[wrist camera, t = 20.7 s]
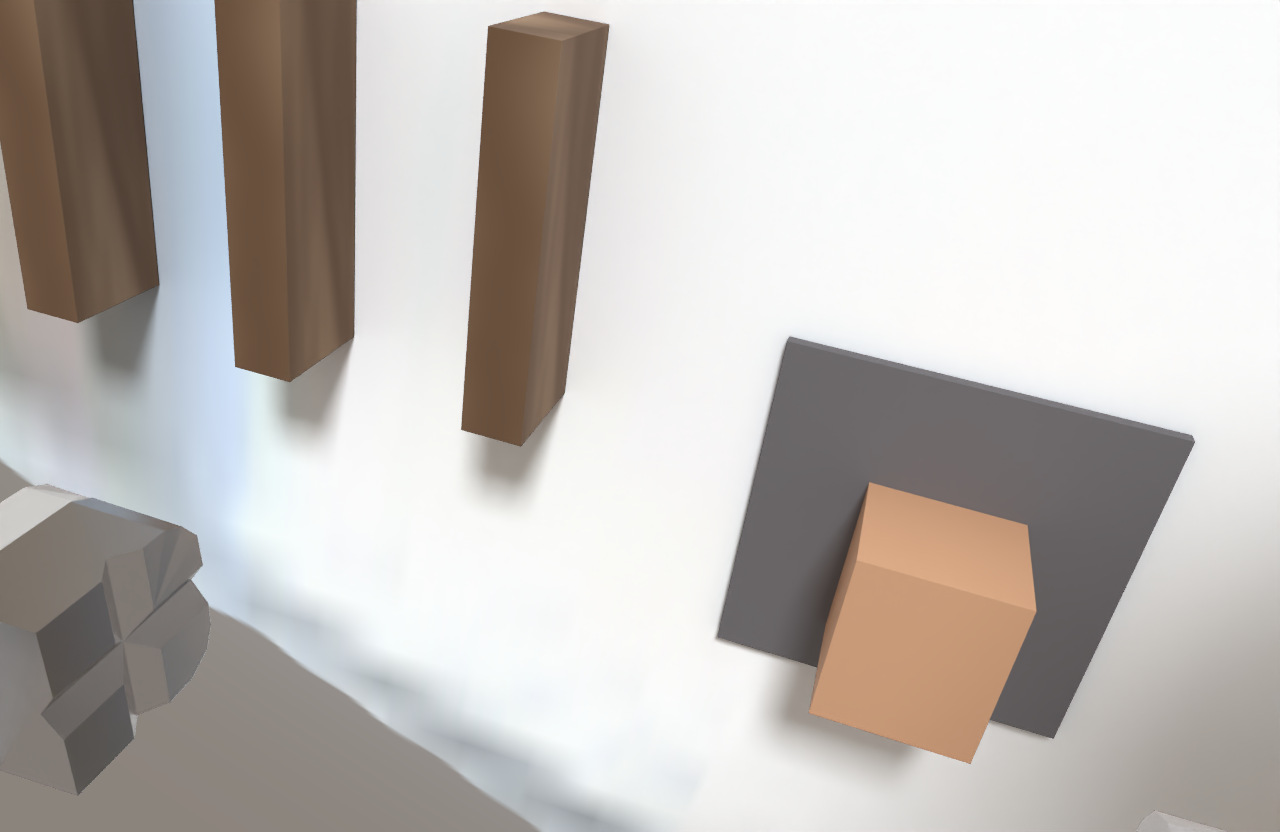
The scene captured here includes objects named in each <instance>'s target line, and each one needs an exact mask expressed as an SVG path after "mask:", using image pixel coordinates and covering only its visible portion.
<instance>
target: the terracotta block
mask: <svg viewBox="0 0 1280 832" xmlns="http://www.w3.org/2000/svg"><path fill="white" fill-rule="evenodd" d="M1036 612H1037V611H1036V602H1035V592H1034V583H1033V573H1032V563H1031V554H1030V544H1029V535H1028V525H1025V524H1021V523H1018V522H1014V521H1010V520H1006V519H1003V518H999V517H995V516H992V515H988V514H984V513H981V512H977V511H973V510H970V509H966V508H962V507H959V506H955V505H951V504H947V503H944V502H940V501H936V500H933V499H929V498H925V497H922V496H918V495H914V494H911V493H907V492H903V491H900V490H896V489H892V488H888V487H885V486H881V485H877V484H874V483H870V482H869V485H868V488H867V491H866V495H865V498H864V501H863V504H862V508H861V511H860V514H859V517H858V521H857V524H856V527H855V530H854V534H853V537H852V540H851V543H850V547H849V550H848V553H847V557H846V560H845V563H844V566H843V570H842V573H841V576H840V579H839V583H838V586H837V589H836V592H835V596H834V599H833V602H832V605H831V609H830V612H829V615H828V618H827V622H826V625H825V630H824V636H823V641H822V646H821V651H820V657H819V662H818V667H817V672H816V678H815V683H814V688H813V693H812V699H811V704H810V709H809V713H810V714H813V715H816V716H819V717H823V718H826V719H829V720H832V721H835V722H839V723H842V724H845V725H848V726H851V727H854V728H858V729H861V730H864V731H867V732H870V733H874V734H877V735H880V736H883V737H886V738H889V739H893V740H896V741H899V742H902V743H905V744H909V745H912V746H915V747H918V748H921V749H924V750H928V751H931V752H934V753H937V754H940V755H944V756H947V757H950V758H953V759H956V760H959V761H963V762H966V763H969V764H970V763H971V761H972V759H973V756H974V754H975V752H976V750H977V747H978V745H979V743H980V740H981V738H982V736H983V733H984V731H985V729H986V727H987V724H988V722H989V720H990V717H991V715H992V713H993V710H994V708H995V706H996V704H997V701H998V699H999V697H1000V694H1001V692H1002V690H1003V687H1004V685H1005V683H1006V681H1007V678H1008V676H1009V674H1010V671H1011V669H1012V667H1013V664H1014V662H1015V660H1016V658H1017V655H1018V653H1019V651H1020V648H1021V646H1022V644H1023V641H1024V639H1025V637H1026V635H1027V632H1028V630H1029V628H1030V625H1031V623H1032V621H1033V618H1034V616H1035V614H1036Z"/></svg>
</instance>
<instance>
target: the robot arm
mask: <svg viewBox="0 0 1280 832" xmlns="http://www.w3.org/2000/svg"><path fill="white" fill-rule="evenodd" d="M202 566H203V563H202V558H201V553H200V548H199V543H198V538H197V535H195V534H194V533H192V532H190V531H189V530H187V529H185V528H183V527H182V526H178V525H175V524H172V523H169V522H166V521H163V520H160V519H157V518H154V517H151V516H147V515H144V514H141V513H138V512H135V511H132V510H129V509H126V508H123V507H120V506H116V505H113V504H110V503H107V502H104V501H101V500H98V499H95V498H88V497H85V496H82V495H78V494H75V493H72V492H69V491H66V490H63V489H60V488H57V487H54V486H51V485H48V484H45V485H38V486H31V487H25V488H23V489H21V490H20V491H18V492H17V493H15V494H14V495H12V496H10V497H9V498H7V499H6V500H4V501H3V502H1V503H0V771H3V772H6V773H9V774H12V775H16V776H19V777H22V778H25V779H28V780H31V781H34V782H37V783H40V784H43V785H46V786H50V787H52V788H55V789H58V790H62V791H64V792H68V793H71V794H74V795H77V796H78V795H79V794H80V793H81V792H82V791H83V790H84V789H85V788H86V787H87V786H88V785H89V784H90V783H91V782H92V781H93V780H94V779H95V778H96V777H97V776H98V775H99V774H100V773H101V772H102V771H103V770H104V769H105V768H106V767H107V766H108V765H109V764H110V763H111V762H112V761H113V760H114V759H115V757H117V756H118V754H119V753H121V752H122V750H123V749H124V748H125V747H126V746H127V745H128V744H129V743H130V742H131V741H132V740H133V739H134V737H135V729H136V721H137V715H139V714H141V713H144V712H147V711H149V710H152V709H154V708H157V707H159V706H162V705H164V704H167V703H169V702H170V701H171V700H172V699H173V698H174V697H175V696H176V695H177V694H178V693H179V692H180V691H181V690H182V689H183V688H184V687H185V685H186V684H187V683H188V682H189V681H190V680H191V679H192V677H193V675H194V673H195V671H196V670H197V668H198V666H199V664H200V661H201V660H202V658H203V656H204V654H205V652H206V650H207V646H208V640H209V634H210V627H211V622H210V614H209V605H208V602H207V601H206V600H205V598H204V597H203V595H202V594H201V593H200V591H199V590H198V589H197V587H196V586H195V584H194V583H193V582H192V580H191V579H192V578H193V577H194V575H195V574H196V573H197V572H198V570H199V569H200V568H201V567H202ZM1136 832H1229V831H1225V830H1222V829H1218V828H1215V827H1211V826H1208V825H1204V824H1201V823H1197V822H1194V821H1190V820H1186V819H1183V818H1179V817H1176V816H1172V815H1169V814H1165V813H1162V812H1158V811H1155V810H1154V811H1153V812H1152V813H1151V814H1149V815H1148V816H1147V817H1146V818H1144V819H1143V820H1142V821H1141V823H1140V825H1139V826H1138V828H1137V830H1136Z"/></svg>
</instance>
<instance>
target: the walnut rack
mask: <svg viewBox="0 0 1280 832" xmlns="http://www.w3.org/2000/svg"><path fill="white" fill-rule="evenodd" d="M215 18H216V35H217V53H218V71H219V88H220V106H221V124H222V141H223V159H224V177H225V194H226V212H227V230H228V247H229V265H230V282H231V300H232V318H233V335H234V353H235V367H238V368H241V369H245V370H248V371H252V372H256V373H259V374H263V375H266V376H270V377H274V378H277V379H281V380H284V381H288V382H291V381H292V380H294V379H295V378H296V377H298V376H299V375H301V374H302V373H303V372H305V371H306V370H308V369H309V368H310V367H312V366H313V365H315V364H316V363H317V362H319V361H320V360H322V359H323V358H325V357H326V356H327V355H329V354H330V353H332V352H333V351H334V350H336V349H337V348H339V347H340V346H341V345H343V344H344V343H346V342H347V341H348V340H350V339H351V338H353V337H354V256H355V110H356V0H215ZM608 32H609V24H604V23H598V22H593V21H588V20H583V19H578V18H573V17H568V16H563V15H558V14H553V13H548V12H541V13H537V14H533V15H529V16H525V17H521V18H518V19H514V20H510V21H506V22H502V23H498V24H494V25H490V26H488V37H487V52H486V67H485V82H484V97H483V112H482V127H481V142H480V157H479V172H478V187H477V202H476V217H475V231H474V246H473V261H472V276H471V291H470V306H469V321H468V336H467V351H466V366H465V381H464V396H463V411H462V426H461V430H464V431H467V432H471V433H475V434H478V435H482V436H485V437H489V438H493V439H496V440H500V441H503V442H507V443H511V444H514V445H518V446H522V444H523V443H524V442H525V441H526V440H527V438H528V437H529V436H530V435H531V433H532V432H533V431H534V430H535V428H536V427H537V426H538V425H539V424H540V422H541V421H542V420H543V419H544V417H545V416H546V415H547V414H548V413H549V411H550V410H551V409H552V408H553V406H554V405H555V404H556V403H557V401H558V400H559V399H560V398H561V397H562V395H563V394H564V393H565V385H566V377H567V369H568V361H569V353H570V344H571V336H572V328H573V320H574V311H575V303H576V295H577V287H578V279H579V270H580V262H581V254H582V246H583V237H584V229H585V221H586V213H587V205H588V196H589V188H590V180H591V172H592V163H593V155H594V147H595V139H596V131H597V122H598V114H599V106H600V98H601V89H602V81H603V73H604V65H605V57H606V48H607V40H608ZM0 142H1V149H2V155H3V161H4V167H5V173H6V179H7V185H8V192H9V198H10V204H11V210H12V216H13V222H14V228H15V235H16V241H17V247H18V253H19V259H20V265H21V271H22V277H23V284H24V290H25V296H26V302H27V308H28V309H29V310H33V311H37V312H40V313H44V314H47V315H51V316H55V317H58V318H62V319H65V320H69V321H73V322H76V323H79V322H81V321H83V320H85V319H87V318H90V317H92V316H94V315H96V314H98V313H100V312H102V311H104V310H106V309H109V308H111V307H113V306H115V305H117V304H119V303H121V302H123V301H125V300H128V299H130V298H132V297H134V296H136V295H138V294H140V293H142V292H144V291H147V290H149V289H151V288H153V287H155V286H157V285H159V280H158V269H157V258H156V248H155V237H154V226H153V215H152V205H151V194H150V183H149V173H148V162H147V151H146V141H145V130H144V119H143V108H142V98H141V87H140V76H139V66H138V55H137V44H136V34H135V23H134V12H133V1H132V0H0Z"/></svg>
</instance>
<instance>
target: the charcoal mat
mask: <svg viewBox="0 0 1280 832" xmlns="http://www.w3.org/2000/svg"><path fill="white" fill-rule="evenodd" d="M1194 443H1195V441H1194V438H1193V436H1192V435H1188V434H1184V433H1180V432H1175V431H1171V430H1167V429H1163V428H1159V427H1155V426H1151V425H1147V424H1143V423H1139V422H1135V421H1131V420H1127V419H1123V418H1119V417H1115V416H1110V415H1106V414H1102V413H1098V412H1094V411H1090V410H1086V409H1082V408H1078V407H1074V406H1070V405H1066V404H1062V403H1058V402H1054V401H1049V400H1045V399H1041V398H1037V397H1033V396H1029V395H1025V394H1021V393H1017V392H1013V391H1009V390H1005V389H1001V388H997V387H993V386H988V385H984V384H980V383H976V382H972V381H968V380H964V379H960V378H956V377H952V376H948V375H944V374H940V373H936V372H932V371H928V370H923V369H919V368H915V367H911V366H907V365H903V364H899V363H895V362H891V361H887V360H883V359H879V358H875V357H871V356H867V355H862V354H858V353H854V352H850V351H846V350H842V349H838V348H834V347H830V346H826V345H822V344H818V343H814V342H810V341H806V340H801V339H797V338H793V337H789V338H788V341H787V345H786V349H785V353H784V357H783V361H782V366H781V370H780V374H779V378H778V383H777V387H776V391H775V395H774V400H773V404H772V408H771V412H770V417H769V421H768V425H767V429H766V433H765V438H764V442H763V446H762V450H761V455H760V459H759V463H758V467H757V472H756V476H755V480H754V484H753V489H752V493H751V497H750V501H749V506H748V510H747V514H746V518H745V522H744V527H743V531H742V535H741V539H740V544H739V548H738V552H737V556H736V561H735V565H734V569H733V573H732V578H731V582H730V586H729V590H728V594H727V599H726V603H725V607H724V611H723V616H722V620H721V624H720V628H719V633H718V637H719V638H723V639H726V640H729V641H732V642H736V643H739V644H742V645H746V646H749V647H752V648H756V649H759V650H762V651H765V652H769V653H772V654H775V655H779V656H782V657H785V658H789V659H792V660H795V661H798V662H802V663H805V664H808V665H812V666H815V667H818V662H819V657H820V651H821V646H822V641H823V636H824V630H825V625H826V622H827V618H828V615H829V612H830V609H831V605H832V602H833V599H834V596H835V592H836V589H837V586H838V583H839V579H840V576H841V573H842V570H843V566H844V563H845V560H846V557H847V553H848V550H849V547H850V543H851V540H852V537H853V534H854V530H855V527H856V524H857V521H858V517H859V514H860V511H861V508H862V504H863V501H864V498H865V495H866V491H867V488H868V485H869V482H870V483H874V484H877V485H881V486H885V487H888V488H892V489H896V490H900V491H903V492H907V493H911V494H914V495H918V496H922V497H925V498H929V499H933V500H936V501H940V502H944V503H947V504H951V505H955V506H959V507H962V508H966V509H970V510H973V511H977V512H981V513H984V514H988V515H992V516H995V517H999V518H1003V519H1006V520H1010V521H1014V522H1018V523H1021V524H1025V525H1028V535H1029V544H1030V554H1031V563H1032V573H1033V583H1034V592H1035V602H1036V611H1037V612H1036V614H1035V616H1034V618H1033V621H1032V623H1031V625H1030V628H1029V630H1028V632H1027V635H1026V637H1025V639H1024V641H1023V644H1022V646H1021V648H1020V651H1019V653H1018V655H1017V658H1016V660H1015V662H1014V664H1013V667H1012V669H1011V671H1010V674H1009V676H1008V678H1007V681H1006V683H1005V685H1004V687H1003V690H1002V692H1001V694H1000V697H999V699H998V701H997V704H996V706H995V708H994V710H993V713H992V715H991V717H990V720H993V721H997V722H1000V723H1003V724H1007V725H1010V726H1013V727H1016V728H1020V729H1023V730H1026V731H1030V732H1033V733H1036V734H1040V735H1043V736H1046V737H1049V738H1053V739H1054V737H1055V734H1056V732H1057V730H1058V728H1059V726H1060V724H1061V722H1062V720H1063V718H1064V716H1065V714H1066V711H1067V709H1068V707H1069V705H1070V703H1071V701H1072V699H1073V697H1074V695H1075V693H1076V690H1077V688H1078V686H1079V684H1080V682H1081V680H1082V678H1083V676H1084V674H1085V672H1086V670H1087V667H1088V665H1089V663H1090V661H1091V659H1092V657H1093V655H1094V653H1095V651H1096V649H1097V646H1098V644H1099V642H1100V640H1101V638H1102V636H1103V634H1104V632H1105V630H1106V628H1107V626H1108V623H1109V621H1110V619H1111V617H1112V615H1113V613H1114V611H1115V609H1116V607H1117V605H1118V602H1119V600H1120V598H1121V596H1122V594H1123V592H1124V590H1125V588H1126V586H1127V584H1128V582H1129V579H1130V577H1131V575H1132V573H1133V571H1134V569H1135V567H1136V565H1137V563H1138V561H1139V558H1140V556H1141V554H1142V552H1143V550H1144V548H1145V546H1146V544H1147V542H1148V540H1149V537H1150V535H1151V533H1152V531H1153V529H1154V527H1155V525H1156V523H1157V521H1158V519H1159V517H1160V514H1161V512H1162V510H1163V508H1164V506H1165V504H1166V502H1167V500H1168V498H1169V496H1170V493H1171V491H1172V489H1173V487H1174V485H1175V483H1176V481H1177V479H1178V477H1179V475H1180V473H1181V470H1182V468H1183V466H1184V464H1185V462H1186V460H1187V458H1188V456H1189V454H1190V452H1191V449H1192V447H1193V445H1194Z"/></svg>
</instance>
